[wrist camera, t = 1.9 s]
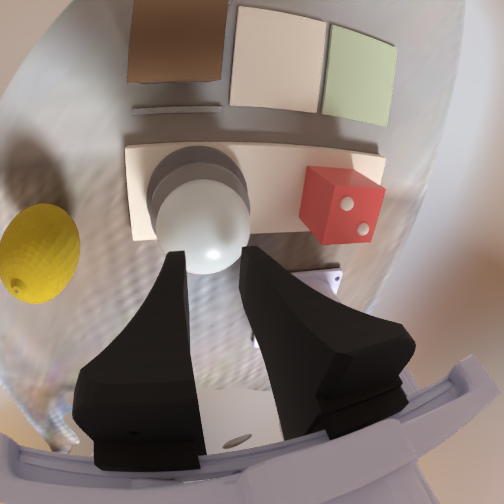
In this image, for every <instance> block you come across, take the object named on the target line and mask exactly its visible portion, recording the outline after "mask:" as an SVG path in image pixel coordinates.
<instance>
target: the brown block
mask: <svg viewBox="0 0 504 504" xmlns="http://www.w3.org/2000/svg"><path fill="white" fill-rule="evenodd" d="M228 1H229V0H135V1H134V8H133V16H132V24H131V33H130V44H129V57H128V74H127V82H128V83H138V84H150V83H170V82H211V81H216V80H221V71H222V60H223V49H224V38H225V28H226V19H227V10H228Z"/></svg>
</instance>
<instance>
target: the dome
mask: <svg viewBox="0 0 504 504" xmlns="http://www.w3.org/2000/svg"><path fill="white" fill-rule="evenodd" d="M150 220H151V225H152V228H153V231H154V233H155V235H156V236H157V239H158V242H159V245H160V247H161V249H162V251H163V252H164V254H165V255H166V254H167V253H168V252H169V251H184V250H185V257H186V271H187V272H190V273H194V274H212V273H216V272H219V271H222V270H224V269H226V268H227V267H229V266H231V265H232V264H233V263H234V262H235V261H236V260H237V259H238V258H239V257H240V256H241V252H242V247H246V246H247V244H248V241H249V237H250V231H251V223H250V201H249V197H248V194H247V192H246V190H245V188H244V187H243V185H242V184H241V182H240V181H239V179H238V178H237V177H236V176H235V174H234V173H232V172H231V171H230V170H229V169H227V168H226V167H224V166H222V165H219V164H216V163H213V162H208V161H194V162H189V163H185V164H182V165H180V166H178V167H176V168H174V169H173V170H171V171H170V172H168V173H167V174H166V175H165V176H164V177H163V178H162V179H161V181H160V182H159V184H158V185H157V187H156V189H155V191H154V194H153V197H152V202H151V209H150Z"/></svg>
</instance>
